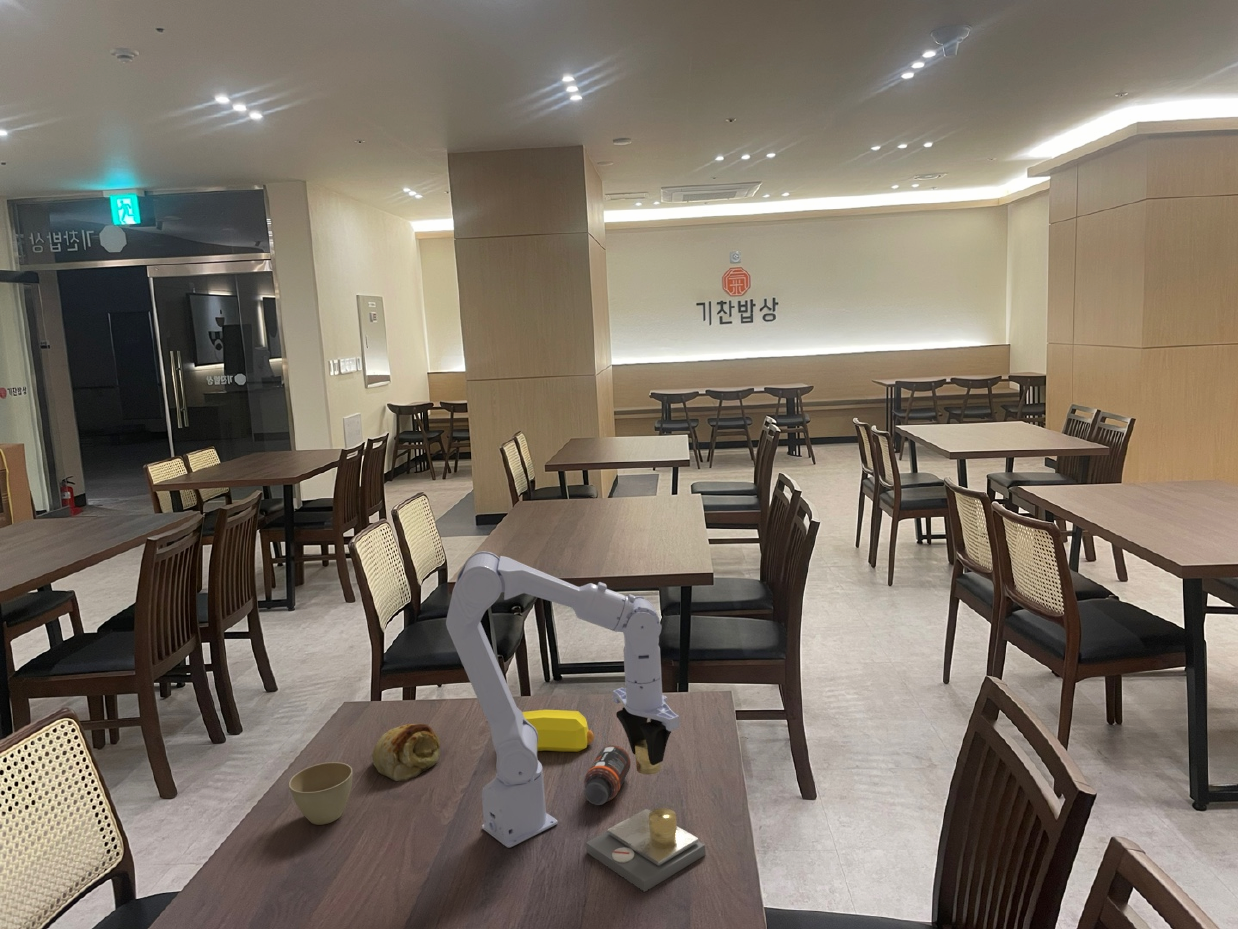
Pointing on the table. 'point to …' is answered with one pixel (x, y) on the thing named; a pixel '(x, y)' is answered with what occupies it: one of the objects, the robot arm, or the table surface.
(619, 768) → the supplement bottle
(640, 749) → the cylinder
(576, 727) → the yellow mustard bottle
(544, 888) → the table surface
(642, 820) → the pan
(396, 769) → the pastry
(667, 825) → the cylinder
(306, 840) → the table surface
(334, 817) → the flower pot
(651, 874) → the scale
